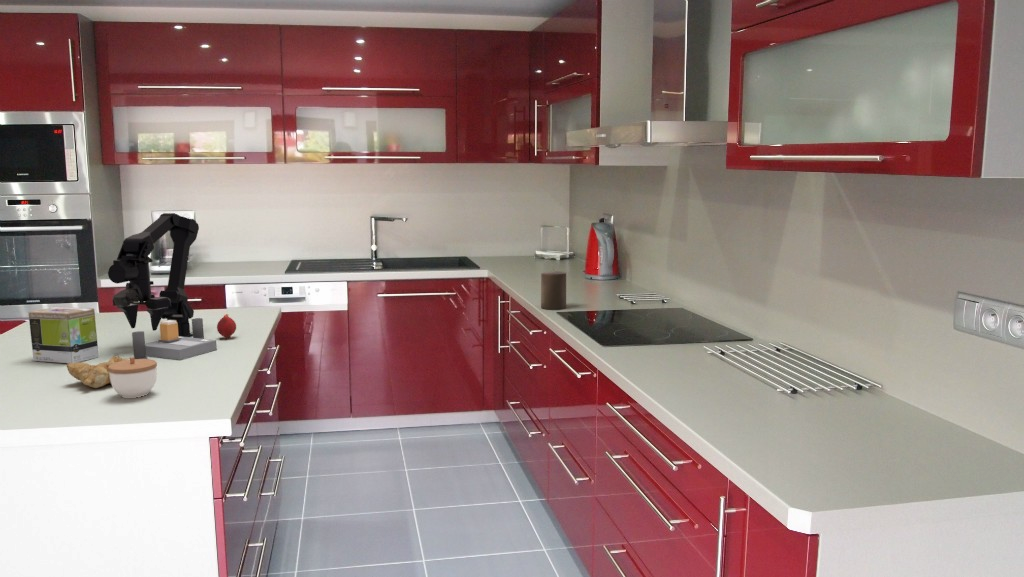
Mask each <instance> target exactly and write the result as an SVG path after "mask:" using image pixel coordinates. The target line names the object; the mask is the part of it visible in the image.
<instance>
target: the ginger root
mask: <svg viewBox="0 0 1024 577" xmlns="http://www.w3.org/2000/svg"><path fill="white" fill-rule="evenodd" d="M126 360H129V359H127V358H125V357H124V358H123V357H120V356H117V355H114V356H113V357H111V358H110V359H109V360H108V362H106V361H104V362H103V361H102V362H99V363H98V364H96V365H93V364H89V363H86V362H83V361H82V362H75V363H66V369H67V371H68V374H70V376H72V377H73V378H74V379H76V380H78V381H80V382H82V384H83V385H85V386H88V387H91V388H93V389H99V388H101V387H104V386H106V385H105V384H107V385H112V384H111V381H110V376H109V371H108V367H109V365H111V364H113V363H116V362H120V361H126Z"/></svg>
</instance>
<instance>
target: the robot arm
mask: <svg viewBox="0 0 1024 577" xmlns="http://www.w3.org/2000/svg"><path fill="white" fill-rule="evenodd" d="M199 229H200V227H199V224H198V223H197V221H196V220H195V219H194V218H189V217H184V216H181V215H179V214H177V213H174V212H172V213H171V212H163V213H162V214H160V215H159V217H158V218H157V219H156V220H154V221H153V222H152V223H150V225H149V226H147V227H146V228H145V229H143V231H141V232H138V233H135V234H132V235H130V236H128V237H126V238H125V239H124V240H123V242H122V245H121V247H120V250H119V252H118V255H117V258H116V259H115V260H112V261H113V262H112V263H113V264H112V265H111V266H110V267H109V269H108V271H107V276H108V278H109V280H110V281H111V282H112V283H114V284H122V283H126V284H125V288H124V289H122V290H120V291H119V292H117V293H116V294H113V296H112V306H115V307H116V309H118V310H120V311H122V312H123V313H124V315H125V318H126V320H127V321H128V324H129V326H130V328H131V329H135V328H136V325H137V318H138V309H139V305H142V306H143V305H144V306H145V307H146V308H147V309H146V310H145V311H146V312H147V313H149V316H150V322H151V329H152V331H154V332H155V331H157V329H158V327H159V326H160V324H161V323H160V322H161V321H162V319H163V320H165V319H166V320H175V321H177V322H178V335H179V336H181V337H191V336H192V337H193V332H192V333H191V328H190V327H191V326H190V321H189V320H190V319H191V320H192V319H193V318H194V313H195V311H194V309H193V308H192V306H191V305H190V304H189V302H188V301H189V298H188V295H187V292H186V290H185V283H186V278H187V277H186V275H187V270H188V262H189V257H190V256H189V255H190V249H191V246H192V245H193V244H194V242H195V241H196V240H197V237H198V234H199ZM168 232H169V236H170V238H171V241H172V243H173V248H172V254H171V260H170V266H169V267H170V269H169V275H168V280H167V286H166V288H165V289H164V290H160V292H159V293H158V294H159V296H157V297H155V296H156V295H155V294H153V293H152V287H151V286H152V285H153V286H154V280H151V276H150V274H151V273H150V264H149V263H153V262H154V260H153V259H152V258H151V257H149V256H150V254H151V253H152V251H154V249H155V244H156V243H157V242H158V240H160V239H162V237H163V236H164V235H165V234H166V233H168Z"/></svg>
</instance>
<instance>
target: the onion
mask: <svg viewBox="0 0 1024 577" xmlns="http://www.w3.org/2000/svg"><path fill="white" fill-rule="evenodd" d="M216 330H217V332H218V334H219V335H220V336H221V337H223V338H225V339H229V338H230V337H231V336H233V334H235V332H236V331H237V324H236V322H235V320H234V319H233V318H232V317H230V316H229V314H228V313H226V314H223V317H222V318H220V320H219V321H217V325H216Z"/></svg>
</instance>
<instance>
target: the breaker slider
mask: <svg viewBox="0 0 1024 577" xmlns="http://www.w3.org/2000/svg"><path fill="white" fill-rule="evenodd" d="M159 332H160V336H159V337H160V339H158V340H157V341H161V342H172V341H176V340H180V339H182V338H179V335H178V322H177V321H175V320H167V319H166V320H163V321H162V320H161V321H160V323H159Z"/></svg>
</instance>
